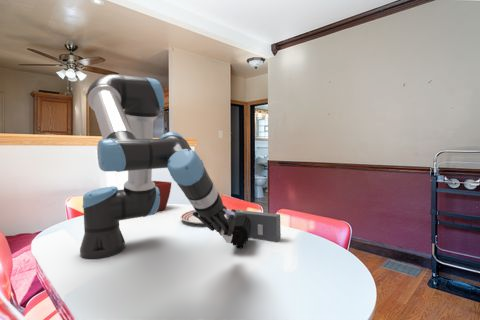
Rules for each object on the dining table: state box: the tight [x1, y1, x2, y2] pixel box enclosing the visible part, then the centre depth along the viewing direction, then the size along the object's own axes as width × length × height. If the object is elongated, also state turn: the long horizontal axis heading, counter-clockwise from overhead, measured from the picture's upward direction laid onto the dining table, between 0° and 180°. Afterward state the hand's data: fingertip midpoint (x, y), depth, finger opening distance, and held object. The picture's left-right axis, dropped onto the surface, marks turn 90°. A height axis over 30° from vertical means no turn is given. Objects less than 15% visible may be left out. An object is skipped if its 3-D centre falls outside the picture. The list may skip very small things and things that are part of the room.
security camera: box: [230, 215, 251, 249], centre depth 105 cm, size 7×18×10 cm, turn 174°
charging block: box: [234, 209, 282, 243], centre depth 114 cm, size 4×20×10 cm, turn 60°
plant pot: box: [152, 180, 172, 212], centre depth 168 cm, size 19×19×17 cm
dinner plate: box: [180, 208, 232, 226], centre depth 143 cm, size 28×27×3 cm
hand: (229, 238), depth 89 cm, fingers closed
